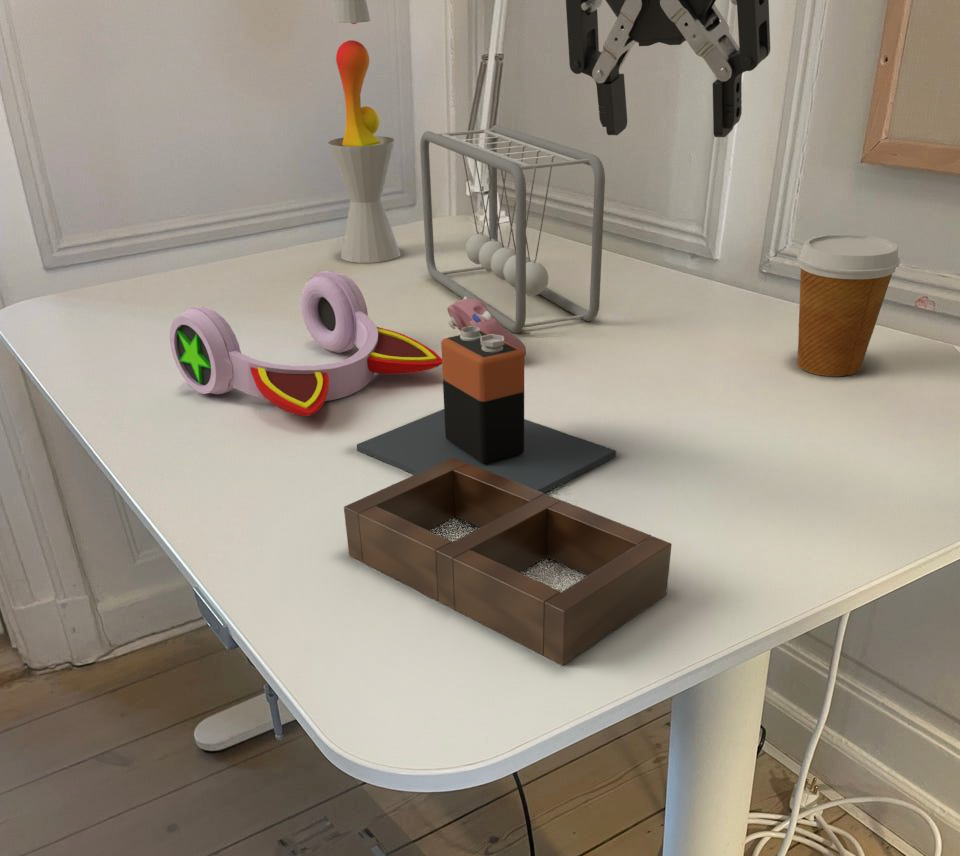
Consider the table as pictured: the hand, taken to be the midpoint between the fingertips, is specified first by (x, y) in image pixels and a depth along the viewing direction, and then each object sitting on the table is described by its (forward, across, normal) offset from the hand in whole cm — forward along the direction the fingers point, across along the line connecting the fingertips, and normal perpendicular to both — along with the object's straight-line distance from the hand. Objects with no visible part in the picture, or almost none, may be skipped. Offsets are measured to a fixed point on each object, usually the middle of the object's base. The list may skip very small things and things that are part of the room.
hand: (669, 132), depth 74 cm
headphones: (+22, -37, -8) cm, 44 cm away
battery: (+21, -12, -14) cm, 28 cm away
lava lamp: (+30, -64, +35) cm, 79 cm away
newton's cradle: (+30, -35, +26) cm, 53 cm away
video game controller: (+26, -26, +8) cm, 38 cm away
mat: (+22, -12, -14) cm, 29 cm away
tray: (+19, 0, -30) cm, 36 cm away
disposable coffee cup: (+31, +7, +21) cm, 38 cm away
